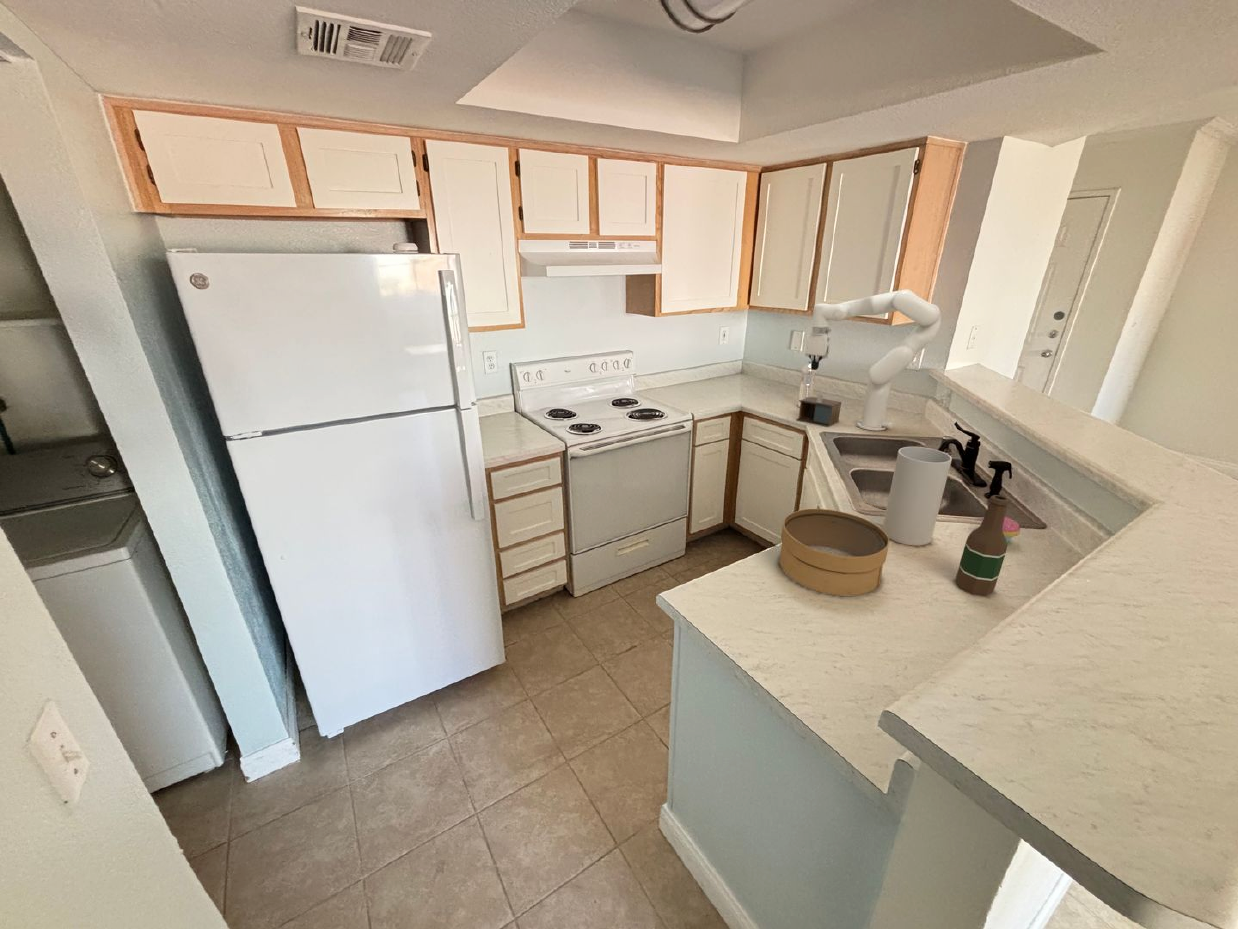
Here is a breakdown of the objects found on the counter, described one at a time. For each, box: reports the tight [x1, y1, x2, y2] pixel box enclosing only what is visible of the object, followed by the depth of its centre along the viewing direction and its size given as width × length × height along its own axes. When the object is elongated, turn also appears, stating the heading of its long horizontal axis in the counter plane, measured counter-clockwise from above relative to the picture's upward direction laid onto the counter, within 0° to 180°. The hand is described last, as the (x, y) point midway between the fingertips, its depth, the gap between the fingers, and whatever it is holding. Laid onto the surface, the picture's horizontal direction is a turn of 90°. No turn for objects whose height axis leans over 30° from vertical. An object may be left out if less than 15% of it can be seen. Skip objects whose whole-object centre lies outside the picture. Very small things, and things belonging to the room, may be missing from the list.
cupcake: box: [1003, 516, 1021, 543], centre depth 139 cm, size 9×8×12 cm
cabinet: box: [796, 396, 842, 428], centre depth 248 cm, size 12×16×10 cm
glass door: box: [813, 393, 832, 424], centre depth 241 cm, size 1×8×14 cm, turn 44°
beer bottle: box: [955, 494, 1011, 597], centre depth 117 cm, size 8×8×24 cm
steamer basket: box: [779, 508, 890, 597], centre depth 127 cm, size 25×25×11 cm
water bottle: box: [797, 360, 817, 408], centre depth 269 cm, size 7×7×25 cm
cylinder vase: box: [881, 446, 953, 547], centre depth 140 cm, size 12×12×25 cm
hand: (814, 369), depth 244 cm, fingers closed
